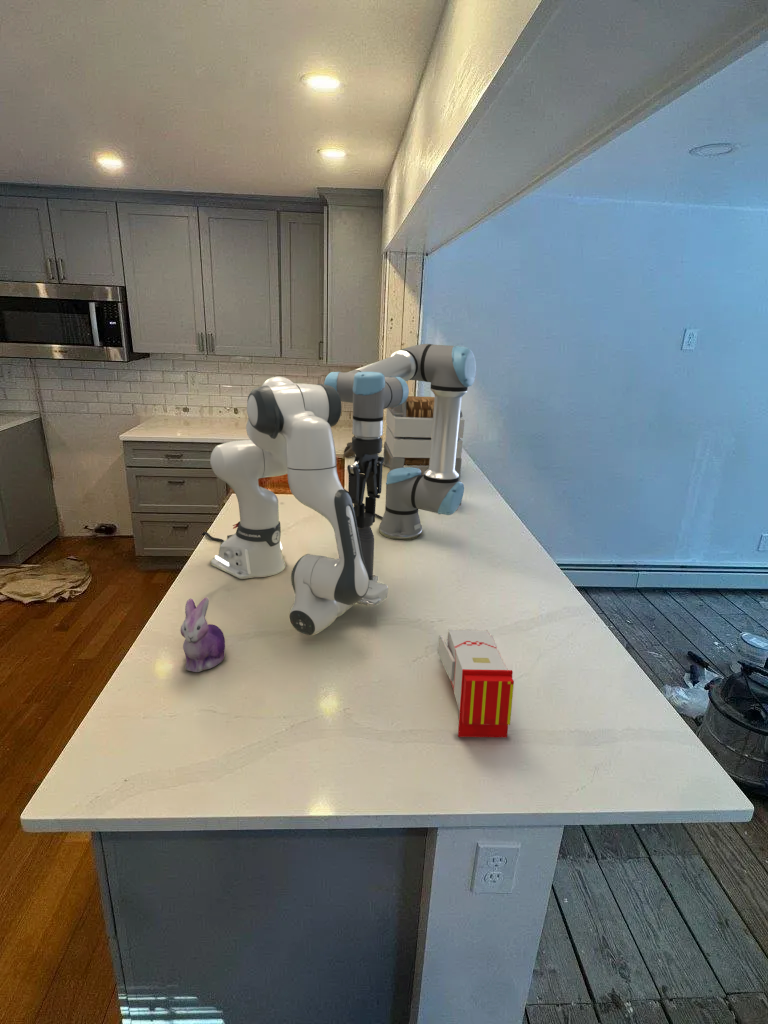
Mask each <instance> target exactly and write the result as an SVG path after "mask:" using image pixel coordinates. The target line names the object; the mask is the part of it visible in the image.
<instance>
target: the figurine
mask: <svg viewBox="0 0 768 1024" xmlns="http://www.w3.org/2000/svg"><path fill="white" fill-rule="evenodd" d="M209 603H210V600H209V598H208V597H204V598H202V599H201V601H200V603H199V604H198V605H197V606H196V602H195V601H194V599H193V598H188V599H187V601H186V603H185V612H184V613H185V618H184V620H183V621H182V624H181V625H180V634H181V636H182V637H183V638H184V641H183V643H182V650H183V654H184V656H185V659H186V661H185V667H184V668H185V670H187V671H189V672H193V673H200V672H202V671H205V670H211V669H213V668H214V667H216V666H218V665H219V664H220V663H222V662H223V661H224V659H225V651H226V638H225V635H224V632H223V630H222V629H221V628H220V627H219V626H218V625H216V624H212V623H211V624H210V623H208V621H207V619H206V615H207V612H208V608H209Z"/></svg>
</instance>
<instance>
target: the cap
mask: <svg viewBox="0 0 768 1024" xmlns="http://www.w3.org/2000/svg"><path fill="white" fill-rule="evenodd" d="M373 524H374V523H373V514H371V513H367V512H365V511H364V527H369V526H370V527H372V526H373Z"/></svg>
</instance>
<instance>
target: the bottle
mask: <svg viewBox="0 0 768 1024" xmlns="http://www.w3.org/2000/svg"><path fill="white" fill-rule="evenodd" d="M358 533H359V538H360V544H361V549H362V555H363V559H364V562H365V565H366V568H367V571H368V574H369V580H370V576H372V575H374V558H375V535H374V532H373V529H372V526H369V527H364V528H359V527H358Z"/></svg>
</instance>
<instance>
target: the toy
mask: <svg viewBox="0 0 768 1024" xmlns="http://www.w3.org/2000/svg"><path fill="white" fill-rule="evenodd" d="M446 640H447V643H446V641H445V639H444V636H443V635H442V634H439V637H438V646H437V656H438V657H439V659H440V661H441V663H442V666H443V668H444V670H445V672H446V674H447V677H448V679H449V681H450V684H451V687H452V690H453V693H454V697H455V701H456V705H457V708H458V711H459V714H458V715H459V716H458V730H457V731H458V732H457V737H458V738H508V731H509V726H510V725H511V717H512V707H513V697H514V696H513V695H514V684H515V680H514V679H513V673H514V671H513V670H512V669H508V667H507V665H506V662H505V661H504V659H503V658H502V655H501V653H500V651H499V649H498V647H497V643H496V639H495V637H494V635H493V634H491V632H490V631H489V629H467V628H466V629H465V628H463V629H461V628H460V629H459V628H448V630H447V639H446Z"/></svg>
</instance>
